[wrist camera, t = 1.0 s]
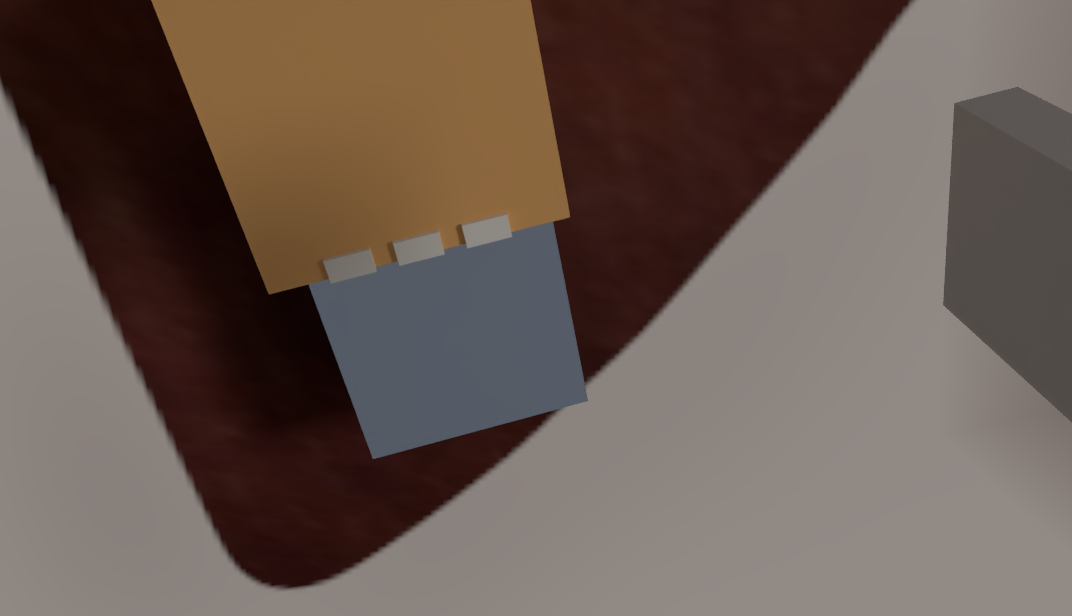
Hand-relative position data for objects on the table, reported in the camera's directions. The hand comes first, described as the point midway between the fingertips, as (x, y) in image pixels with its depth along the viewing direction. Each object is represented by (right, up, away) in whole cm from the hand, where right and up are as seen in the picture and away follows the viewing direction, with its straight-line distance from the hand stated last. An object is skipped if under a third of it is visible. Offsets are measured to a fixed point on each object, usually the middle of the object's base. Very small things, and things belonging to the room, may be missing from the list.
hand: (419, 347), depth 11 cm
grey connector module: (-2, +3, +20) cm, 20 cm away
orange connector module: (-4, +10, +15) cm, 18 cm away
